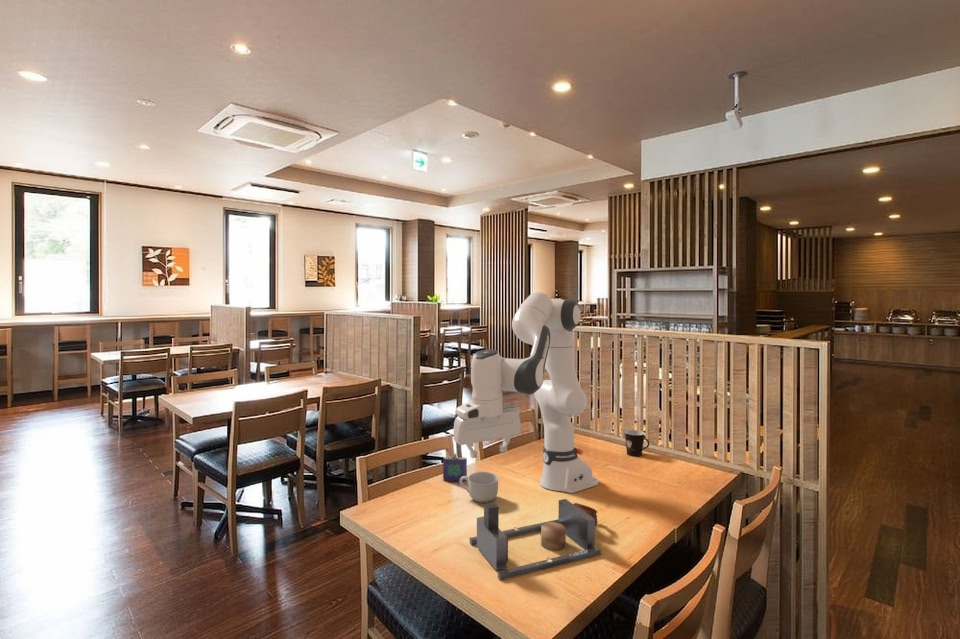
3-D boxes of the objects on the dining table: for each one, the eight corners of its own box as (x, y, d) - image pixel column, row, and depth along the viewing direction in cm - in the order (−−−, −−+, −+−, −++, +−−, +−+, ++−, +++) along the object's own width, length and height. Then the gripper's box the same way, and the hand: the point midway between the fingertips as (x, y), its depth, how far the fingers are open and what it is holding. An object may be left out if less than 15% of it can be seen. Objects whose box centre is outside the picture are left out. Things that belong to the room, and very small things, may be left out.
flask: (467, 479, 194) (467, 452, 193) (466, 482, 191) (466, 455, 190) (443, 479, 194) (443, 452, 194) (442, 482, 191) (442, 454, 191)
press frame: (560, 523, 157) (560, 495, 157) (601, 555, 138) (601, 523, 137) (469, 542, 145) (469, 512, 144) (500, 581, 126) (500, 546, 125)
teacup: (503, 496, 178) (503, 474, 178) (490, 508, 168) (491, 485, 168) (468, 489, 184) (468, 468, 183) (454, 500, 174) (454, 478, 174)
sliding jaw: (488, 544, 143) (488, 495, 142) (508, 567, 131) (508, 513, 130) (476, 546, 141) (476, 497, 141) (496, 570, 129) (496, 516, 129)
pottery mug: (559, 526, 156) (566, 499, 159) (583, 535, 159) (590, 509, 162) (579, 532, 146) (587, 504, 148) (605, 543, 148) (612, 515, 151)
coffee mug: (621, 451, 228) (621, 430, 227) (639, 450, 229) (639, 429, 228) (631, 460, 216) (632, 437, 216) (650, 459, 217) (651, 436, 217)
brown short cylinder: (557, 536, 149) (557, 520, 148) (570, 547, 142) (570, 530, 142) (536, 541, 146) (536, 524, 145) (549, 552, 139) (549, 535, 139)
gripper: (514, 400, 149) (515, 445, 150) (450, 409, 140) (452, 457, 141) (524, 404, 143) (525, 451, 144) (459, 414, 135) (460, 464, 136)
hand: (488, 454), depth 143 cm, fingers open, 8 cm apart
